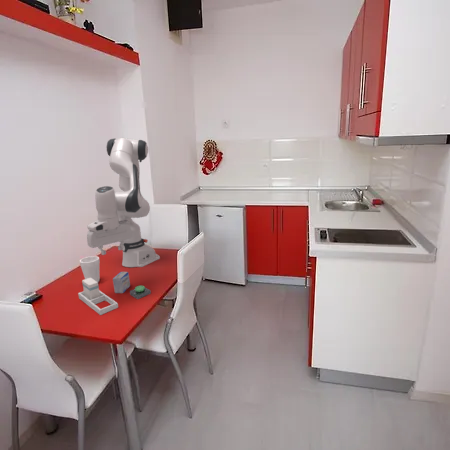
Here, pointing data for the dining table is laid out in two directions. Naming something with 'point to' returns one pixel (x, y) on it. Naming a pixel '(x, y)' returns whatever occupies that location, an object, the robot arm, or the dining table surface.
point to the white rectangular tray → (97, 300)
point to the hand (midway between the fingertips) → (112, 252)
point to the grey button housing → (141, 294)
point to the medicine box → (121, 282)
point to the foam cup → (90, 267)
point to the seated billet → (91, 288)
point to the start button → (139, 288)
